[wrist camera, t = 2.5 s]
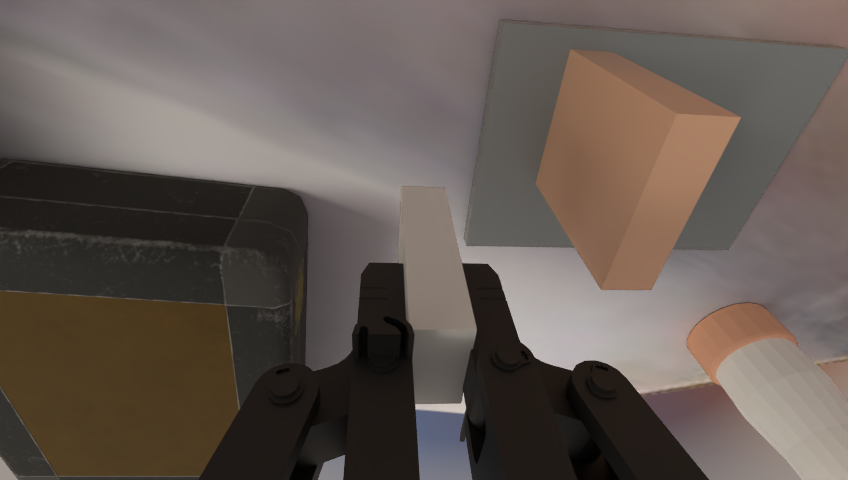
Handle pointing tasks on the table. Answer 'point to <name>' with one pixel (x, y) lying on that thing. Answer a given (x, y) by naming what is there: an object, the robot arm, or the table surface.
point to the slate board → (671, 59)
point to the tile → (627, 164)
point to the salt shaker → (776, 388)
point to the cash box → (138, 316)
